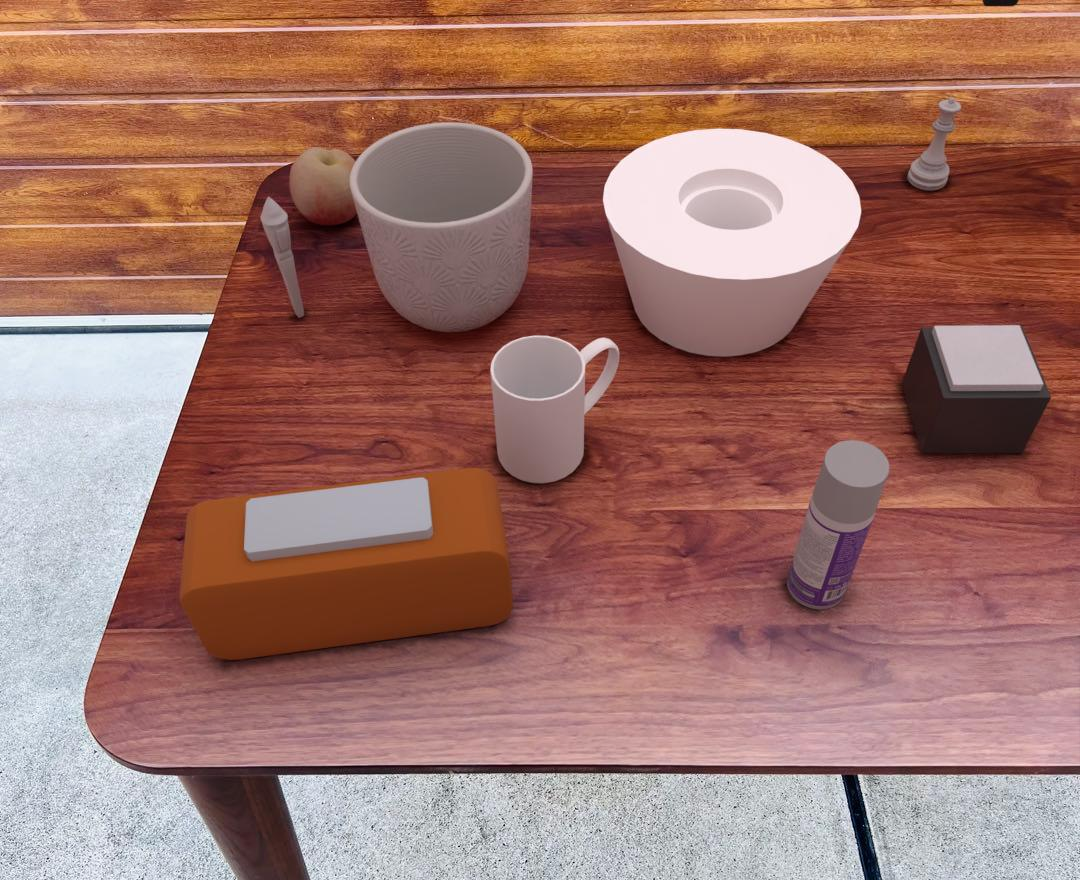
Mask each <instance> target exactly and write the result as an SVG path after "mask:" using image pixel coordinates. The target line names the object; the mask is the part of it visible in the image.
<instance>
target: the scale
mask: <svg viewBox="0 0 1080 880" xmlns="http://www.w3.org/2000/svg"><path fill="white" fill-rule="evenodd" d="M1035 356H1036V355H1035V354H1034V352H1033V349H1032V346H1031V344H1030V341H1029V339H1028V336H1027V334H1026V332H1025V329H1024V326H1021V325H1020V324H1010V325H1009V324H1006V325H1005V324H1004V325H1003V324H999V325H998V324H997V325H996V324H995V325H992V324H991V325H989V324H988V325H986V324H985V325H983V324H982V325H933V326H931V327H930V326H927V327H925V326H923V327H921V328H920V331H919V334H918V336H917V339H916V341H915V344H914V348H913V350H912V353H911V355H910V358H909V360H908V364H907V367H906V370H905V373H904V375H903V378H902V381H901V387H902V391H903V394H904V398H905V401H906V406H907V408H908V412H909V416H910V420H911V422H912V426H913V430H914V434H915V436H916V441H917V444H918V447H919V450H920V451H919V452H920V454H1022V453H1024V450H1025V449H1026V447H1027V444H1028V443H1029V441H1030V439H1031V438H1032V436H1033V433H1034V431H1035V430H1036V427H1037V426H1038V424H1039V422H1040V420H1041V418H1042V417H1043V415H1044V413H1045V411H1046V409H1047V407H1048V405H1049V403H1050V401H1051V399H1052V395H1051V393H1050V390H1049V388H1048V386H1047V383H1046V381H1045V378H1044V376H1043V373H1042V371H1041V368H1040V366H1039V363H1038V361H1037V359H1036V357H1035Z"/></svg>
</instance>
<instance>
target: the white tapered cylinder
mask: <svg viewBox="0 0 1080 880" xmlns="http://www.w3.org/2000/svg"><path fill="white" fill-rule="evenodd" d="M849 177H850V176H848V175H847V174H846V173H845V171H844V170H843V169H842V168H841V167H840V166H838V165H837V164H836V163H835V162H833V161H832V160H831V159H830V158H829V157H828V156H825V155H824V154H822V153H821V152H819V151H816V150H815V149H814V148H811V147H810V146H807V145H805V144H803V143H800V142H797V141H796V140H792V139H790V138H787V137H783V136H780V135H775V134H772V133H768V132H763V131H755V130H749V129H739V128H707V129H694V130H690V131H684V132H679V133H673V134H670V135H667V136H664V137H660V138H657V139H654V140H652V141H650V142H647V143H646V144H644V145H642V146H639V147H638V148H636V149H634V150H633V151H631V152H630V153H629V154H627V155H626V156H625V157H623V158H622V159H621V160H620V161H619V162H618V163H617V165H615V167H614V168H613V169H612V170H611V171H610V173H609V176H608V178H607V180H606V182H605V184H604V189H603V194H602V195H603V196H602V203H603V207H604V211H605V216H606V219H607V223H608V226H609V229H610V230H609V231H610V232H611V233H610V234H611V236H612V239H613V243H614V246H615V249H616V252H617V256H618V259H619V262H620V265H621V270H622V272H623V276H624V279H625V282H626V285H627V289H628V292H629V296H630V299H631V302H632V305H633V309H634V311H635V314H636V315H637V318H638V319H639V321H640V323H641V324H642V325H643V326H644V328H646V330H647V331H648V332H650V333H651V334H652V335H653V336H655V337H656V338H657V339H658V340H660V341H662V342H663V343H666V344H668V345H669V346H671V347H673V348H676V349H679V350H681V351H685V352H688V353H691V354H696V355H702V356H708V357H721V358H722V357H738V356H744V355H748V354H753V353H757V352H760V351H763V350H765V349H768V348H770V347H772V346H773V345H775V344H777V343H779V342H780V341H782V340H784V339H785V338H786V336H787V335H788V334H790V333H791V331H792V330H793V329H794V328H795V326H796V324H797V323H798V322H799V320H800V318H801V316H802V315H803V313H804V312H805V311H806V309H807V307H808V306H809V305H810V302H811V301H812V300H813V298H814V296H815V295H816V293H817V292H818V290H819V289H820V287H821V286H822V284H823V283H824V281H825V279H826V278H827V277H828V275H829V274H830V272H831V270H832V269H833V267H834V265H835V264H836V263H837V261H838V260H839V258H840V257H841V255H842V254H843V252H844V250H845V249H846V247H847V246H848V244H849V243H850V241H851V239H852V238H853V236H854V234H855V233H856V231H857V230H858V228H859V224H860V220H861V216H862V206H861V198H860V195H859V193H858V191H857V188H856V186H855V185H854V182H853V181H852V180H851V179H850V178H849Z"/></svg>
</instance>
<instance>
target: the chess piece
mask: <svg viewBox="0 0 1080 880" xmlns="http://www.w3.org/2000/svg"><path fill="white" fill-rule="evenodd" d="M937 106H938V109H939V112H940V116H939V117H938V118H937V119H935V120H934V121H933V122H932V125H931V128H932V130H933V131H934V132H935V133H934V135H933V138H932V140H931V142H930V145H929V146H928V148H927V149H926V150H925V151H923V152H922V153H921V154H920V157H918V158H916V159H915V160H914V161H913V162H912V163H911V165H910V168H909V170H908V173H907V175H906V176H907V181H908V183H909V184H910V185H912V186H913V187H914V188H916V189H919V190H922V191H929V192H930V191H937V190H940V189H943V188H944V187H945V186H946V184H947V182H948V179H949V175H950V166H949V165H948V163H947V156H946V154H945V145H946V141H947V136H948V134H952V133H953V132H954V131H955V128H956V124H955V122H954V119H953V118H954V117H955V115H956V114H957V113H959V112H960V111H961V109H962V105H961V103H960V102H959V101H957V100H956V99H955V97H954V96H950V97H949V98H948V99H943V100H940V102H939V103H938V105H937Z"/></svg>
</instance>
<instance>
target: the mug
mask: <svg viewBox="0 0 1080 880" xmlns="http://www.w3.org/2000/svg"><path fill="white" fill-rule="evenodd" d="M607 349H608V355H607V360H606V362H605V365H604V367H603V370H602V372H601V373H600V376H599V377H598V379H597V380H596V381H595V383H594V384H593V386H592V387H591V388H590V389H589V390H588V392H587V393H586V365H587V364H588V363H589V362H590V361H591V360H592V359H594V357H596V356H597V355H598V354H600V353H601V352H603V351H605V350H607ZM620 357H621V356H620V350H619V346H617V344H616V343H615V342H614V340H611V338H607V337H599V338H597V339H595V340H592V341H591V342H590V343H588V344H587V345H586V346H584V347H583V348H582V349H581V350H580V351H579V349H578V348H577V347H576V346H574V345H573V344H571V343H570V342H568V341H566V340H564V339H561V338H559V337H555V336H549V335H530V336H529V335H528V336H523V337H520V338H517V339H513V340H511V341H509V342H507V343H506V344H505V345H503V346H502V347H501V348H500V349H499V350H498V351H497V352H496V353H495V355H494V356H493V359H492V360H491V362H490V370H489V371H490V383H491V393H492V394H491V395H492V404H493V405H492V407H493V419H494V428H495V429H494V430H495V431H494V432H495V442H496V443H495V444H496V451H497V452H496V453H497V457H498V461H499V463H500V464H501V466H502V467H503V469H504V470H505V471H506V472H507V473H508V474H509V475H511V476H512V477H514V478H516V479H517V480H520V481H522V482H527V483H531V484H548V483H553V482H557V481H560V480H562V479H565V478H566V477H568V476H570V475H571V474H573V473H574V471H575V470H576V469H577V468H578V466H580V465H581V462H582V460H583V457H584V454H585V453H584V452H585V451H584V450H585V415H586V414H587V413H588V412H589V411H590V410H591V409H592V408H593V407H594V406H595V405H596V403H597V402H598V401H599V400H600V399H601V397H602V396H603V395H604V394H605V393H606V391H607V389H608V388H609V387H610V385H611V383H612V382H613V380H614V378H615V376H616V373H617V370H618V367H619V364H620Z"/></svg>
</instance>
